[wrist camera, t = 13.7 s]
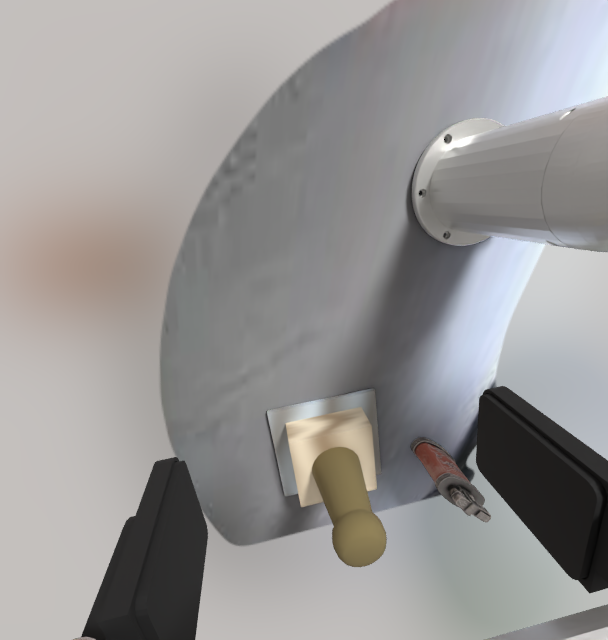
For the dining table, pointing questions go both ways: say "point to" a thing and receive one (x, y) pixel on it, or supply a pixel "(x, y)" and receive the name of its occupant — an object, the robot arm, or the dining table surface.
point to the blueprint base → (314, 411)
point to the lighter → (449, 478)
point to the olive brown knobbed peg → (349, 507)
